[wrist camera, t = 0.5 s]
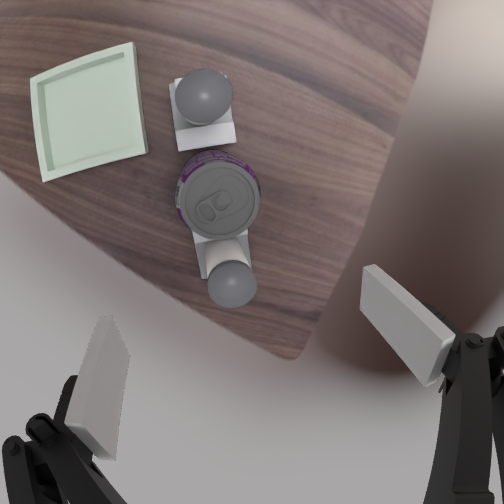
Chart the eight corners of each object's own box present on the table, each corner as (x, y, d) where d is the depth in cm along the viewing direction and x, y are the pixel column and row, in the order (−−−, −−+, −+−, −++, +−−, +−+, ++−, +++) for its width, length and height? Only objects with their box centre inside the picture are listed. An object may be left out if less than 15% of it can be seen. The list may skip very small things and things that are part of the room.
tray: (39, 81, 24) (30, 78, 21) (136, 47, 25) (132, 41, 23) (51, 179, 29) (42, 182, 27) (149, 152, 30) (145, 153, 28)
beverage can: (206, 221, 35) (213, 262, 24) (167, 176, 32) (154, 196, 21) (253, 184, 34) (283, 208, 23) (217, 136, 31) (229, 136, 20)
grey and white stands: (169, 84, 28) (159, 63, 19) (226, 76, 29) (239, 52, 20) (201, 276, 37) (205, 322, 28) (250, 267, 38) (269, 310, 29)
